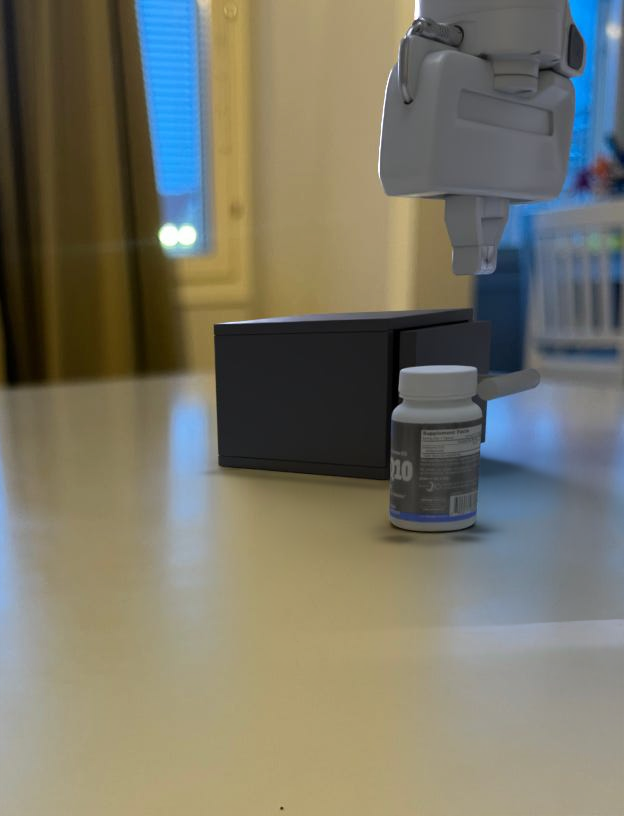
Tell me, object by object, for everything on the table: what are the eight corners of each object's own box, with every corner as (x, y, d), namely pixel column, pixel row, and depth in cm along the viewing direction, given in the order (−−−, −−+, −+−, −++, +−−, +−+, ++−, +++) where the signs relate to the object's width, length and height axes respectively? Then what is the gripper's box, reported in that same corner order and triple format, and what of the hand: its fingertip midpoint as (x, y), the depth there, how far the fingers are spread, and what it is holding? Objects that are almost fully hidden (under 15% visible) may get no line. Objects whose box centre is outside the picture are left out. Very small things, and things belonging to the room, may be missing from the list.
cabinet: (467, 451, 77) (474, 307, 73) (384, 479, 68) (388, 318, 64) (307, 442, 86) (307, 314, 83) (217, 465, 77) (212, 324, 74)
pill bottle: (381, 516, 58) (384, 367, 55) (463, 512, 57) (470, 362, 55) (398, 535, 53) (402, 374, 50) (487, 530, 53) (496, 368, 50)
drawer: (547, 445, 72) (557, 318, 69) (478, 471, 64) (485, 329, 61) (331, 434, 84) (332, 325, 81) (251, 455, 76) (248, 335, 73)
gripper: (459, -3, 52) (446, 275, 57) (597, 49, 66) (577, 269, 71) (354, 23, 56) (350, 281, 61) (505, 67, 70) (492, 274, 75)
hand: (473, 275), depth 66 cm, fingers closed
